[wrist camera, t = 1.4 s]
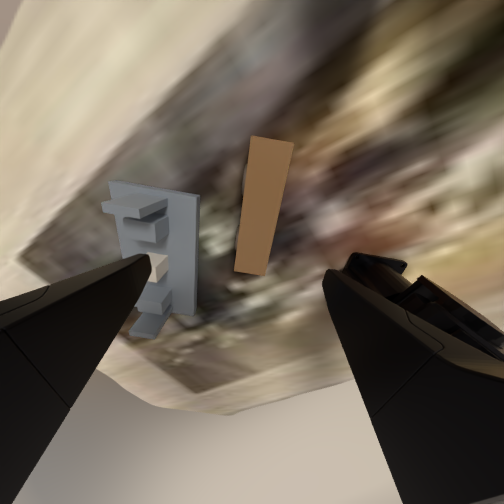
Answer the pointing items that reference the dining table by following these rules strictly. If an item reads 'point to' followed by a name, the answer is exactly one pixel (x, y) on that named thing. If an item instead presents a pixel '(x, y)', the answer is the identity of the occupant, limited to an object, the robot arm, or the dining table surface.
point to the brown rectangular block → (261, 202)
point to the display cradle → (159, 248)
